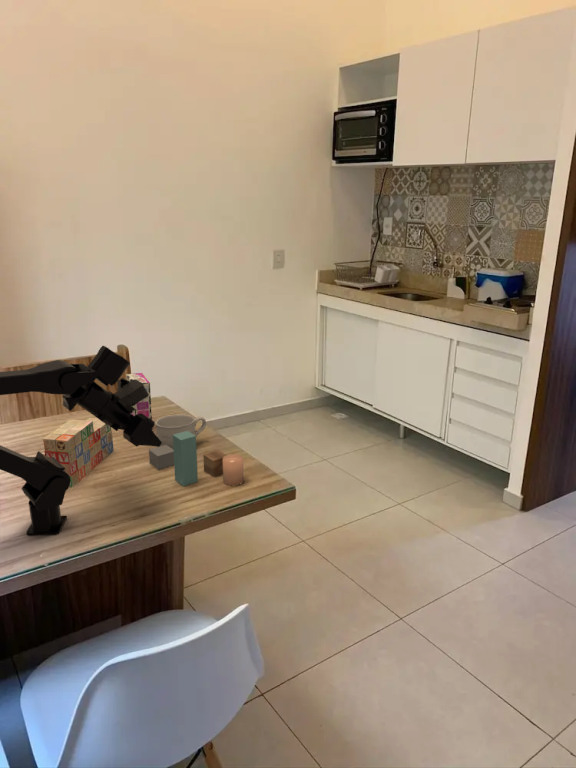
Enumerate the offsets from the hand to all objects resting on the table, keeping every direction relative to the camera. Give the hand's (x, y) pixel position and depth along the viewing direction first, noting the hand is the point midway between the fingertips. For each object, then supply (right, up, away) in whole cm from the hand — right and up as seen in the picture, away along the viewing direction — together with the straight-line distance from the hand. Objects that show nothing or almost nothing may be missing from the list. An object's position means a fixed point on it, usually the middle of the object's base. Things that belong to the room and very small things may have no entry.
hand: (150, 438), depth 131 cm
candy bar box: (-12, -2, +39) cm, 40 cm away
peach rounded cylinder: (+18, -11, +10) cm, 23 cm away
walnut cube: (+13, -10, +15) cm, 22 cm away
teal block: (+6, -11, +9) cm, 16 cm away
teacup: (+2, -5, +29) cm, 30 cm away
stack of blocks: (-21, -9, +16) cm, 28 cm away
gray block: (-1, -9, +18) cm, 20 cm away
